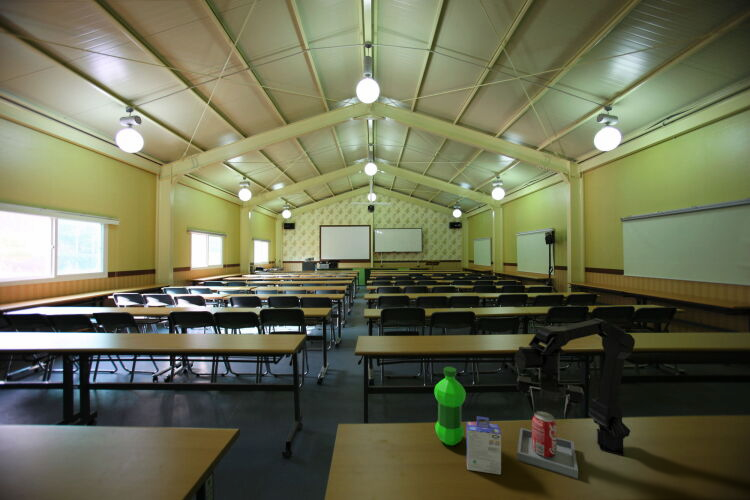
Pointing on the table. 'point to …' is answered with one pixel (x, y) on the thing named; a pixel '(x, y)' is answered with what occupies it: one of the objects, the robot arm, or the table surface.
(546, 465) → the tray
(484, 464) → the ink cartridge box
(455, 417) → the plastic bottle
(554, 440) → the soda can
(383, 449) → the table surface
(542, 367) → the robot arm
